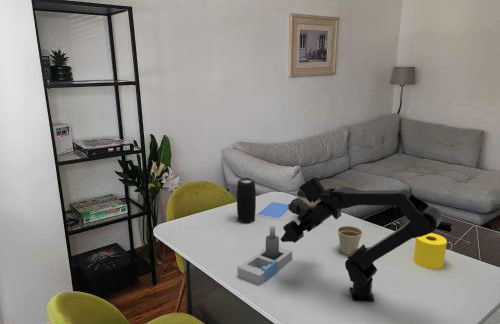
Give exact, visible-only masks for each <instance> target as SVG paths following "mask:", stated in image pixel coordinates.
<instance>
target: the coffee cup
mask: <svg viewBox="0 0 500 324" xmlns="http://www.w3.org/2000/svg"><path fill="white" fill-rule="evenodd" d="M296 195H297V198H300V199H301V200H303V201H304V202H305V203H307V204H308V206H310V207H312V206H314V205H316V204H317V203H318V201H316V202H315V203H313V201H312V202H311V203H310V202H309V201H308V200H307V199H306V197H305V196H304V194H303V193H302V192H301V190H300V189H299V188H298V191H297V194H296Z"/></svg>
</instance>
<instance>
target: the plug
mask: <svg viewBox="0 0 500 324" xmlns="http://www.w3.org/2000/svg"><path fill="white" fill-rule="evenodd" d="M279 247H280V237H279V236H278V235H276V226H270V227H269V235H267V236H265V248H266V257H267V258H269V259H272V260H276V259H277V258H279Z"/></svg>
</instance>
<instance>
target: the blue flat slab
mask: <svg viewBox="0 0 500 324" xmlns="http://www.w3.org/2000/svg"><path fill="white" fill-rule="evenodd" d="M288 205H289V204H287V203H281V202H277V201H276V202H275V201H271V202H270V203H269V204H267V205H266V206H265V207H264V208H262V209H261V210H260V211H258V212H257V213H255V217H262V218H267V219H272V220H277V221H281V220H282V219H283V218H284V217H285V216H286V215H287V214H288V213H289V212H290V211H289V209H288V207H289V206H288Z"/></svg>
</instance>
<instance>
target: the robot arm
mask: <svg viewBox="0 0 500 324" xmlns="http://www.w3.org/2000/svg"><path fill="white" fill-rule="evenodd" d="M299 189H300V190H301V192H302V193H303V194H304V196H305V197H306V199H307V200H308V201H309V202H310V203H311V202H312V201H313V203H315V202H316V201H317V204H316V205H314V206H312V207H310V206H308V204H307V203H305V202H304V201H303V200H301V199H300V198H298V197H296V198H294V199H292V200H291V202H290V203H288V204H287V205H288V206H289V207H288V209H289V212H291V213H292V214H295V215H296V216H297V217H296V219H297V220H298V221H299V223H297V222H296V221H295V220H291V221H289V222H288V223H286V224H285V225H283V227H282V229H283V230H284V233H283V235H282V237H281V238H280V241H281V242H282V243H288V242H289V243H291V242H292V243H294V244H296V243H297V242H299V241H300V240H301V239H302V238H304V235H305V233H304V231H307V232H308V233H309V232H311V231H312V230H315V228H317V227H319V226H320V225H321V224H322V223H324V222H325V221H326V220H327V219H329V218H330V217H333V218H334V220H338V219H339V218H341V217H342V209H349V208H352V207H356V206H379V207H381V206H384V207H386V206H387V207H388V206H390V207H391V206H392V207H393V206H394V207H397V208H399V209H400V211H401V212H402V214H403V215H404V216H405V217H406V218H407V220H408V222H407V223H406V224H404V225H402V226H401V227H400V228H397V230H395V231H394V232H392V233H390V234H388V235H387V236H385V237H384V238H383V239H381V240H379V241H378V242H376V243H375V244H373V245H371V246H368V247H366V245H365V244H364V243H363V244H362V245H361V246H359V247H358V248H357V249H355V250H354V251H353V252H352V253H351V254H350V255H347V256H346V258H347V259H346V260H345V262H344V263H345V264H344V266H345V270H346V271H347V274H348V276H349V277H348V278H349V280H350V282H352V286H350V287H349V292H350V296H351V300H352V301H357V302H358V301H359V302H369V303H371V302H373V303H374V302H375V298H374V295H373V292H372V291H373V290H372V288H373V277H374V275H376V273H377V271H378V268H377V267H376V266H375V264H374V262H375V261H376V260H379V259H380V258H383V257H384V256H386V255H387V254H389V253H390V252H392V251H394V250H396V249H397V248H398V247H400V246H401V245H403V244H405V243H407V242H408V241H410V240H412V239H416V238H417V237H422V236H424V235H427V234H430V233H434V232H435V230H436V229H437V228H438V226H439V225H440V223H441V221H442V218H443V217H442V214H441V211H440V210H439V209H437V208H436V207H434V206H430V205H429V204H428V203H427V202H425V200H423V199H421V198H419V197H417V196H415V195H414V194H413V193H412V192H411V191H409V190H407V189H399V190H398V189H397V190H396V189H395V190H393V189H389V190H388V189H387V190H384V189H383V190H379V189H378V190H361V189H360V190H359V189H356V188H354V187H349V186H339V187H337V188H333V187H329V188H327V189H325V187H324V186H323V184H322V183H321V182H320V181H319V178H318V177H317V176H313V177H312V178H311V179H309V180H308V181H306V182H305V183H303V184H301V185H300V186H299V187H298V190H299ZM319 200H320V201H319Z"/></svg>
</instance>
